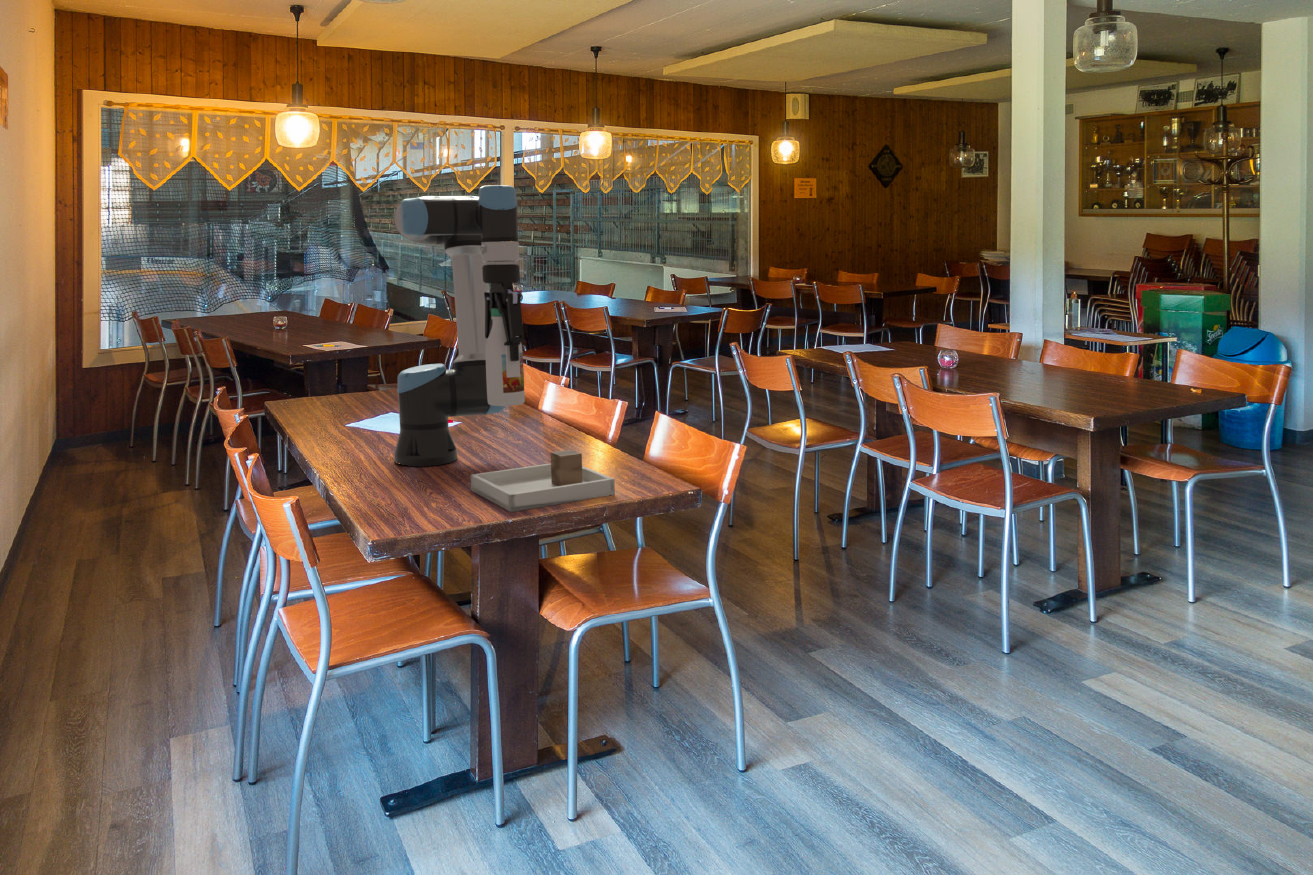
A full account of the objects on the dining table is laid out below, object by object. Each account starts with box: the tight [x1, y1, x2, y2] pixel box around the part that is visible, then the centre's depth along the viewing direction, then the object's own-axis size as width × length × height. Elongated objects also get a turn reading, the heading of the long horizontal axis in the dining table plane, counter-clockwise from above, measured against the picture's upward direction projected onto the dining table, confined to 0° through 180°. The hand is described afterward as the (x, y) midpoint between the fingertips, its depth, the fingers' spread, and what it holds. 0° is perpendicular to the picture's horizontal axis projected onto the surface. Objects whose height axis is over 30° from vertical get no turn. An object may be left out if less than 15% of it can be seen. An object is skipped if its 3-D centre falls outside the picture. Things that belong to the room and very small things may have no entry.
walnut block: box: [550, 449, 583, 486], centre depth 218 cm, size 5×5×7 cm
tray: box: [470, 462, 616, 513], centre depth 216 cm, size 21×24×4 cm
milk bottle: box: [486, 308, 526, 407], centre depth 208 cm, size 8×8×20 cm
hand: (505, 374), depth 208 cm, fingers closed on milk bottle, 7 cm apart
